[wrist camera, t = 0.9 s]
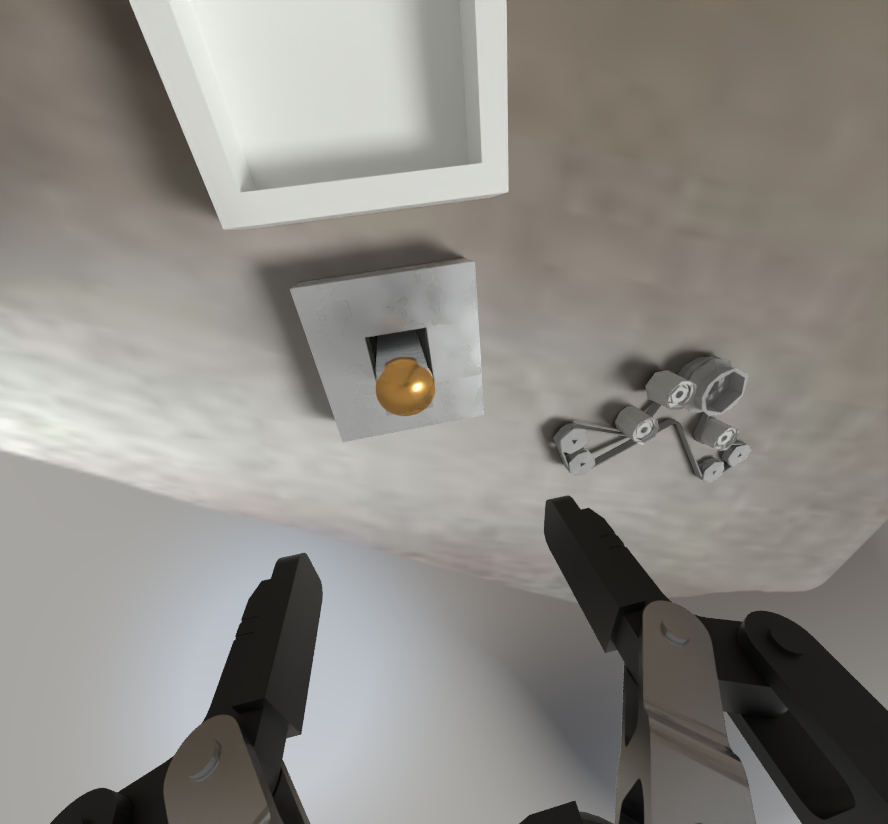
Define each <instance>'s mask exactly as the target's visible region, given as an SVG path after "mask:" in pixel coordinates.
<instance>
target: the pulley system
mask: <svg viewBox="0 0 888 824" xmlns="http://www.w3.org/2000/svg"><path fill="white" fill-rule="evenodd" d="M748 376H749V375H748V374H746V373H744V372H742V371H740V370H738V369H737V368H733V366H732V364H731V361H730V360H723V359H720V358H718V357H713V356H710V357H698V358H696V359H694V360H693V361H691V362H689V363H688V364H686V365H685V366H683V368H682V369H681V370H680V371H679V372H678V373H677V375H676V374H674V373H672V372H670V371H668V370H665V371H660V372H655V373H654V375H653V376H652V378H651V379H650V380H649V382H648V383H647V385H646V386H645V387H646V392H647V397H648V399H649V400H652V401H654V402H653V403H652V405H651V406H650V407H649V408H648V410H647V411H646V412H643V411H641V410H639V409H638V408H636V407H634V406H627V407H626V408H624V409H623V410H622V411H620V412H619V414H618V416H617V418H616V420H615V425H616V428H617V430H619V431H620V432H618V431H612V430H607V429H601V428H595V427H589V426H584V425H579V424H572V423H570V424H565V425H564V426H563V427H561V429H560V430H559V431H558V432H557V433H556V435H555V436H554V438H553V439H554V441H555V444H556V446H557V449H558V451H559V453H560V456H561V458H562V461H563V464H564V466H565V467H566V469H567V470H568V471H569V472H570V473H571V474H573V475H575V476H577V475H585V474H587V473H588V472H589V471H590V470H591V469H593V468H595V467H596V466H598V465H600V464H602V463H604V462H605V461H607V460H609V459H611V458H613V457H614V456H616V455H618V454H620V453H622V452H623V451H625V450H627V449H629V448H631V447H632V446H634V445H636V444H638V443H639V444H642V445H643V444H644V443H646V442H647V441H649V440H650V439H652V438H653V437H655V435H656V433H658V432H659V431H661V430H663V429H665V428H667V427H668V426H670V425H672V424H676V427H677V429H678V432H679V434H680V437H681V439H682V442H683V444H684V447H685V449H686V452H687V454H688V457H689V459H690V462H691V464H692V467H693V470H694V472H695V475H696V476H697V477H699V478H700V479H701V480H703V481H706V482H709V483H710V482H712V481H714V480H716V479H718V478H719V477H720V476H721V474H723V473H724V472H726V471H727V470H729V469H730V468H732V467H733V466H735V465H737V464H739V463H741V462H743V461H745V459H746V457H747V456H748V454H749V453H750V451H751V448H750V447H749V445H747V444H745V443H743V442H740V441H736V439H737V437H738V435H739V431H738V429H736V428H734V427H732V426H730V425H728V424H726V423H724V422H722V421H720V420H718V419H714V418H711V419H708V418H709V416H713V415H721V414H722V413H724V412H725V411H727V410H729V409H730V408H732V407H733V406H735V405H736V403H737V402H738V401H739V399H740V398H741V396H742V395H743V394H744V390H745V387H746V383H747V379H748ZM661 405H663V406H665V407H667V408H669V409H671V410H672V409H683V408H685V409H686V410H688V411H691V412H697V413H700V412H703V413H702V416H701V418H700V420H699V422H698V425H697V427H696V429H695V431H694V433H693V434H694V438H695V440H696V441H698V442H701V443H703V444H706V445H708V446H710V447H712V448H714V449H715V450H718V451H721V450H724V451H723V455H722V457H721V458H722V459H723V460H724V461H726V462H727V463H725V464H724V462H720V461H718V460H716V459H714V458H709V459H706V460H704V461H703V462H702V463H700V464H697V462H696V459H695V457H694V455H693V452H692V450H691V447H690V445H689V443H688V440H687V438H686V436H685V433H684V431H683V428H682V426H681V424H680V423H679V422H677V421H676V420H672V419H667V420H665V421H663V422H661V423H659V424H658V420H656V419H655V418H653V417H652V416H653V415H654V414H655V413H656V411H657V410H658V409H659V407H660V406H661ZM586 431H592V432H599V433H606V434H613V435H620V436H627V437H629V438H630V440H628V441H626V442H625V443H623V444H621V445H619V446H617V447H615V448H613V449H612V450H610V451H608V452H606V453H604V454H602V455H601V456H599V457H597V458H594V455H592V454H591V453H590V452H589V450H587V449H586V448H584V447H583V446H584V445H585V444H586V443H587V442H588V438H587V434H586ZM564 452H565V453H568V454H567V455H566V457H565V455H564Z"/></svg>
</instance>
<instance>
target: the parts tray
mask: <svg viewBox="0 0 888 824" xmlns="http://www.w3.org/2000/svg"><path fill="white" fill-rule="evenodd" d="M129 2H130V4H131V6H132V9H133V11H134V14H135V16H136V19H137V21H138V23H139V26H140V28H141V31H142V33H143V36H144V38H145V40H146V43H147V45H148V48H149V50H150V53H151V55H152V57H153V60H154V62H155V65H156V67H157V70H158V72H159V74H160V77H161V79H162V82H163V84H164V86H165V89H166V91H167V94H168V96H169V99H170V101H171V103H172V106H173V108H174V111H175V113H176V116H177V118H178V120H179V123H180V125H181V128H182V130H183V133H184V135H185V137H186V140H187V142H188V145H189V147H190V150H191V152H192V154H193V157H194V159H195V162H196V164H197V167H198V169H199V171H200V174H201V176H202V179H203V181H204V184H205V186H206V188H207V191H208V193H209V196H210V198H211V201H212V203H213V205H214V208H215V210H216V213H217V215H218V218H219V220H220V222H221V225H222V227H223V230H236V229H257V228H265V227H272V226H280V225H287V224H295V223H302V222H310V221H318V220H325V219H333V218H340V217H348V216H355V215H363V214H371V213H378V212H386V211H393V210H401V209H408V208H416V207H423V206H431V205H439V204H446V203H454V202H461V201H469V200H476V199H484V198H490V197H493V196H497V195H500V194H504V193H507V192H508V107H507V11H506V0H129Z"/></svg>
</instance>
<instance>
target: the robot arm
mask: <svg viewBox="0 0 888 824" xmlns="http://www.w3.org/2000/svg"><path fill="white" fill-rule="evenodd" d="M544 535H545V539H546V542H547V545H548V547H549V549H550V551H551V553H552V555H553V556H554V558H555V560H556V562H557V564H558V566H559V568H560V570H561V571H562V573H563V575H564V577H565V579H566V581H567V583H568V584H569V586H570V588H571V590H572V592H573V594H574V596H575V597H576V599H577V601H578V603H579V605H580V607H581V609H582V610H583V612H584V614H585V616H586V618H587V620H588V622H589V624H590V625H591V627H592V629H593V631H594V633H595V635H596V637H597V639H598V640H599V642H600V644H601V646H602V648H603V650H604V652H605V653H607V652H611V651H615V650H618V652H619V653H620V655H621V657H622V659H623V661H624V673H623V703H622V733H621V735H622V736H621V751H620V758H619V763H618V770H617V781H616V800H615V824H756V821H755V816H754V810H753V805H752V799H751V794H750V789H749V784H748V780H747V776H746V773H745V770H744V767H743V765H742V762H741V761H740V759H739V757H738V756H737V755H736V754H734V753H733V752H732V750H731V748H730V745H729V742H728V739H727V733H726V727H725V720H724V714H723V711H725V712H727V713H728V715H729V716H730V718H731V719H732V720H733V722H734V723H735V725H736V726H737V728H738V729H739V731H740V732H741V734H742V735H743V737H744V738H745V740H746V741H747V743H748V744H749V746H750V747H751V749H752V750H753V752H754V753H755V755H756V756H757V758H758V759H759V761H760V762H761V763H762V765H763V767H764V768H765V770H766V771H767V772H768V774H769V775H770V777H771V778H772V780H773V781H774V783H775V784H776V786H777V787H778V789H779V790H780V792H781V793H782V794H783V796H784V798H785V799H786V801H787V802H788V804H789V805H790V807H791V808H792V809H793V811H794V813H795V814H796V815H797V817H798V819H799V820H800V822H801V823H802V824H888V711H887V710H886V709H885V708H884V707H883V706H882V705H881V704H880V703H879V702H878V701H877V700H876V699H875V698H874V697H873V696H872V695H871V694H870V693H869V692H868V691H867V690H866V689H865V688H864V687H863V686H862V685H861V684H860V683H859V682H858V681H857V680H856V679H855V678H854V677H853V676H852V675H851V674H850V673H849V672H848V671H847V670H846V669H845V668H844V667H843V666H842V665H841V664H840V663H839V662H838V661H837V660H836V659H835V658H834V657H833V656H832V655H831V654H830V653H829V652H828V651H826V649H825V648H824V647H823V646H822V645H821V644H820V643H819V642H818V641H817V640H816V639H815V638H814V637H813V636H812V635H810V634H809V633H808V632H807V631H806V630H805V629H803V628H802V627H801V626H799V625H798V624H796V623H795V622H793V621H791V620H789V619H788V618H785V617H783V616H781V615H779V614H775V613H772V612H767V611H755V612H751V613H750V614H748V616H747V617H746V618H745V620H744V621H743V622H740V621H730V620H722V619H713V618H705V617H700V616H697V615H694V614H692V613H691V612H690V611H688V610H687V609H685V608H684V607H682V606H680V605H678V604H675V603H672V602H671V601H670V600H669V599H668V598H667V597H666V596H665V595H664V594H663V593H662V592H661V591H660V589H659V588H658V587H657V585H656V584H655V583H654V582H653V580H652V579H651V578H650V577H649V575H648V574H647V573H646V571H645V570H644V569H643V568H642V566H641V565H640V564H639V562H638V561H637V560H636V559H635V557H634V556H633V555H632V554H631V552H630V551H629V550H628V548H627V547H625V546H624V543H623V542H622V541H621V540H620V538H619V537H618V536H617V535H615V532H614V531H613V529H612V528H611V527H610V526H609V524H608V523H607V522H606V520H605V519H604V518H603V517H601V516H600V515H598V514H597V513H595V512H594V511H593V510H591V509H590V508H586V509H582V510H581V509H580V508H579V507H578V505H577V504H576V502H575V501H574V500H573V498H572V497H570V496H563V497H558V498H554V499H549V500H547V501H546V506H545V520H544ZM322 595H323V593H322V584H321V580H320V578H319V577H318V575H317V573H316V571H315V569H314V567H313V565H312V563H311V561H310V559H309V557H308V556H307V554H306V553H301V554H297V555H292V556H287V557H283V558H280V559H278V561H277V562H276V564H275V567H274V570H273V574H272V577H271V579H269V580H264V581H262V582H261V583H260V584H259V586H258V587H257V588H256V590H255V591H254V593H253V594H252V596H251V597H250V598H249V600H248V603H247V605H246V608H245V611H244V614H243V617H242V622H241V623H240V625H239V628H238V630H237V633H236V640H234V642H233V644H232V647H231V650H230V653H229V656H228V658H227V661H226V664H225V667H224V669H223V672H222V675H221V678H220V681H219V684H218V686H217V689H216V692H215V695H214V697H213V700H212V703H211V706H210V708H209V711H208V713H207V715H206V717H205V719H204V721H203V722H202V724H201V725H199V726H198V727H197V728H196V729H195V730H194V731H193V732H192V733H191V734H190V735H189V736H188V737H187V738H186V739H185V741H184V742H183V743H182V745H181V746H180V748H179V749H178V751H177V752H176V754H175V755H174V756H173V757H172V758H170V759H169V760H167V761H166V762H165V763H163V764H162V765H160V766H159V767H157V768H155V769H154V770H152V771H151V772H149V773H148V774H146V775H144V776H143V777H141V778H140V779H138V780H136V781H135V782H133V783H132V784H130V785H128V786H127V787H125V788H124V789H122V790H121V791H119V792H114V791H112V790H109V789H106V788H98V789H94V790H92V791H90V792H87V793H86V794H84V795H82V796H81V797H79V798H77V799H76V800H75V801H74V802H72V803H71V804H70V805H68V806H67V807H66V808H65V809H64V810H63V811H62V812H61V813H60V814H59V815H58V816H57V817H56V818H55V819H54V820H53V821H52V822H51V823H50V824H310V822H309V819H308V817H307V815H306V813H305V810H304V808H303V806H302V803H301V801H300V799H299V796H298V794H297V791H296V789H295V787H294V784H293V782H292V780H291V777H290V775H289V773H288V771H287V768H286V766H285V764H284V761H283V760H282V758H283V752H284V747H285V742H286V738H289V737H293V736H297V735H301V731H302V726H303V720H304V713H305V706H306V700H307V694H308V687H309V681H310V675H311V669H312V662H313V656H314V649H315V643H316V637H317V630H318V624H319V618H320V611H321V605H322ZM520 824H613V823H611V822H609V821H607V820H605V819H603V818H601V817H599V816H595V815H592V814H589V813H586V812H579V810H578V807H577V805H576V801H572V802H569V803H566V804H563V805H560V806H557V807H554V808H550V809H547V810H544V811H541V812H538V813H535V814H532V815H529V816H528V817H527V818H525V819H524V820H523V821H522V822H521V823H520Z"/></svg>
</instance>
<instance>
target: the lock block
mask: <svg viewBox="0 0 888 824" xmlns="http://www.w3.org/2000/svg"><path fill="white" fill-rule="evenodd" d="M290 292H291V295H292V297H293V300H294V303H295V306H296V309H297V312H298V315H299V318H300V320H301V323H302V326H303V329H304V332H305V335H306V338H307V341H308V343H309V346H310V349H311V352H312V355H313V358H314V361H315V364H316V366H317V369H318V372H319V375H320V378H321V381H322V384H323V387H324V389H325V392H326V395H327V398H328V401H329V404H330V407H331V409H332V412H333V415H334V418H335V421H336V424H337V427H338V430H339V432H340V435H341V438H342V441H343V442H346V441H351V440H356V439H361V438H366V437H372V436H377V435H382V434H387V433H393V432H398V431H403V430H408V429H413V428H419V427H424V426H429V425H434V424H440V423H445V422H450V421H455V420H460V419H466V418H471V417H476V416H481V415H484V404H483V388H482V371H481V355H480V339H479V322H478V306H477V289H476V273H475V261H473V260H470V259H467V258H460V259H453V260H446V261H440V262H433V263H426V264H419V265H412V266H406V267H399V268H392V269H385V270H379V271H372V272H365V273H358V274H352V275H345V276H338V277H331V278H324V279H318V280H311V281H304V282H299V283H298V284H296V285H295V286H293V287H292V288H290ZM420 328H424V334H425V340H426V347H427V354H428V360H429V367H430V369H429V370H430V372H431V374H432V377H433V380H434V383H435V395H434V398H433V400H432V401H433V407H432V408H427V409H425V410H423V411H422V412H420V413H418V414H415V415H411V416H399V415H395V414H394V415H389V416H386V412H385V409H384V408H383V407H382V406H381V404H380V403H379V401H378V399H377V396H376V378H377V375H376V363H375V359H374V355H373V351H372V347H371V343H370V339H369V337H371V336H377V335H383V334H390V333H396V332H402V331H408V330H414V329H420Z"/></svg>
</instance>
